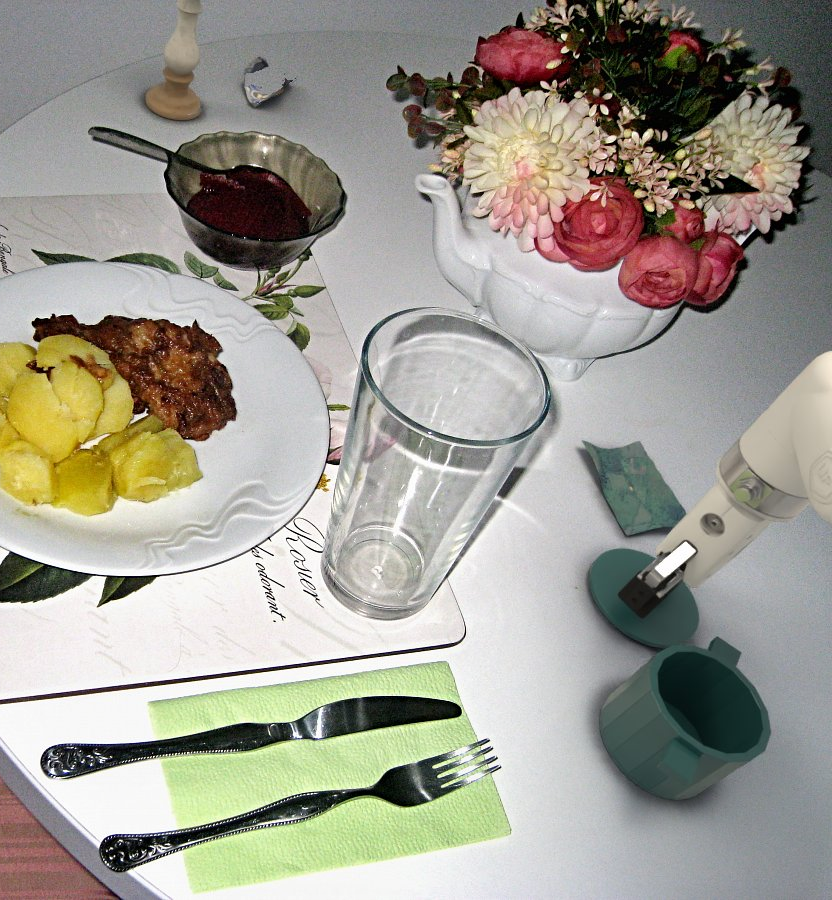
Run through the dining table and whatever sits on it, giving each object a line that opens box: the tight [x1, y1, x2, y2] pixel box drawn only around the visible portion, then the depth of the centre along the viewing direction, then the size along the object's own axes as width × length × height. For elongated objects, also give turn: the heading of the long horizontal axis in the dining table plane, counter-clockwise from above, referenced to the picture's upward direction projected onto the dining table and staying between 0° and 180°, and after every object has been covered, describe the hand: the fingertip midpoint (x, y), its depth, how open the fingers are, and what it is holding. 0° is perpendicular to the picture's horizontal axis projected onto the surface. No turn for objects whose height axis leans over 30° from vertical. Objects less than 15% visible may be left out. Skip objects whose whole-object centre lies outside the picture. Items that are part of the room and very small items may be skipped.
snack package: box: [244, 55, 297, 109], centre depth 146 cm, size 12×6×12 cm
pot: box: [599, 635, 772, 801], centre depth 78 cm, size 10×16×8 cm, turn 142°
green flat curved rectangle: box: [581, 439, 688, 536], centre depth 102 cm, size 13×8×2 cm, turn 10°
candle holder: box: [145, 0, 204, 121], centre depth 131 cm, size 9×9×20 cm
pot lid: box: [588, 547, 700, 649], centre depth 89 cm, size 11×11×7 cm
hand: (657, 584), depth 89 cm, fingers open, 9 cm apart
